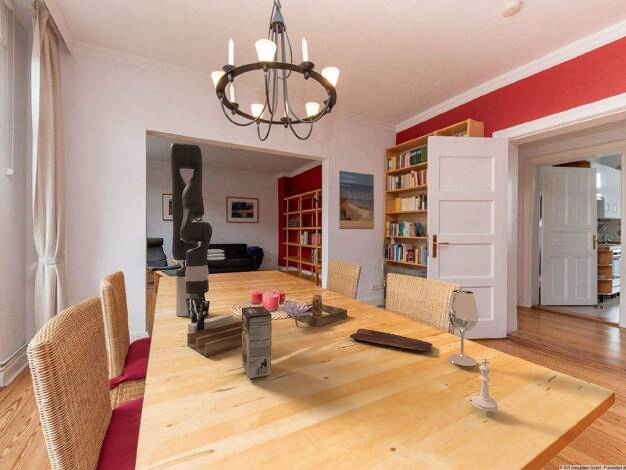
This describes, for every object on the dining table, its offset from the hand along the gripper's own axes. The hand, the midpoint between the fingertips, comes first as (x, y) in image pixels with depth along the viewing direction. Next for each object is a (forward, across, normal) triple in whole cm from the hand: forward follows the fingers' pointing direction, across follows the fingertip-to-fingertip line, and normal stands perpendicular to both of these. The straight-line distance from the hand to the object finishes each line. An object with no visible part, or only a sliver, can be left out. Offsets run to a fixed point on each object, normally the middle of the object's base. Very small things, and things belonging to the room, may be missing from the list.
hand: (197, 328), depth 103 cm
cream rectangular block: (+4, -1, +6) cm, 7 cm away
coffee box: (+6, +32, +2) cm, 33 cm away
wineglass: (+8, +70, +47) cm, 85 cm away
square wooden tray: (+4, +10, +48) cm, 50 cm away
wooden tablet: (+6, +46, +50) cm, 69 cm away
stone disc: (+4, +10, +48) cm, 50 cm away
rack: (+4, +9, +5) cm, 11 cm away
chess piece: (+9, +81, +27) cm, 86 cm away
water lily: (+4, +12, +34) cm, 37 cm away
